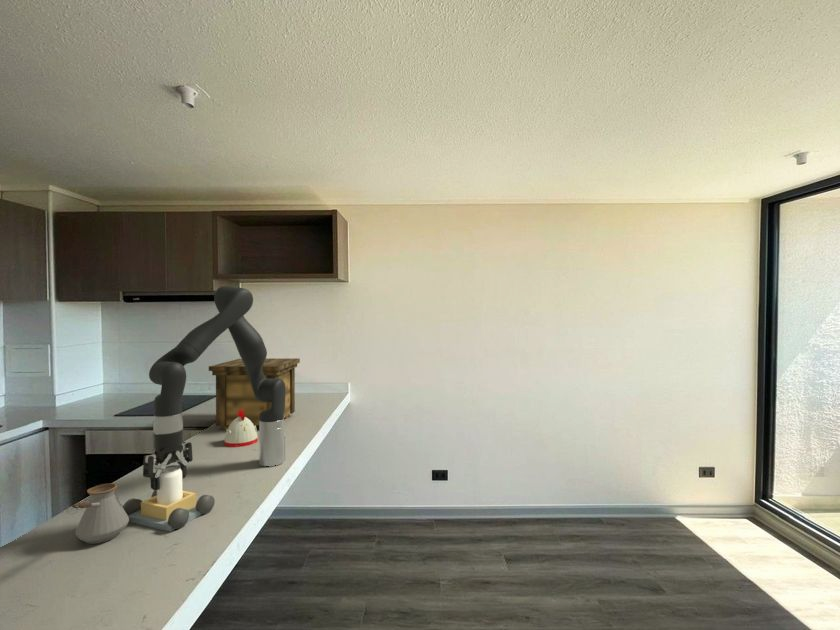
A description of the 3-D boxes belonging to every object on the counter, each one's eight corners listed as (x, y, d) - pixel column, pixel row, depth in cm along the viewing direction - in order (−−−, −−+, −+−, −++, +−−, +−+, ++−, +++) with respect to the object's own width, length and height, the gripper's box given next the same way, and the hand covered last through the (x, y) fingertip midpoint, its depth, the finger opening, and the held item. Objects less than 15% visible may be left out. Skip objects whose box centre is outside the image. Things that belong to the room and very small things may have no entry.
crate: (209, 431, 210) (208, 366, 210) (240, 414, 245) (240, 358, 245) (278, 431, 209) (278, 366, 209) (300, 414, 244) (299, 358, 244)
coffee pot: (88, 528, 116) (87, 474, 116) (135, 522, 119) (135, 469, 119) (42, 574, 96) (41, 509, 96) (101, 566, 99) (100, 503, 99)
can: (159, 506, 126) (159, 466, 126) (184, 502, 128) (183, 463, 128) (154, 515, 120) (154, 474, 120) (180, 511, 122) (180, 470, 122)
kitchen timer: (229, 449, 183) (229, 414, 183) (221, 441, 194) (220, 409, 193) (261, 442, 192) (261, 410, 192) (251, 436, 202) (251, 404, 202)
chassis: (166, 499, 134) (165, 483, 134) (214, 509, 127) (214, 492, 127) (121, 520, 121) (121, 502, 121) (173, 532, 114) (173, 514, 114)
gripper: (180, 421, 132) (180, 473, 132) (135, 434, 118) (136, 491, 119) (198, 423, 129) (199, 476, 129) (155, 437, 116) (155, 495, 116)
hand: (169, 483), depth 124 cm, fingers open, 8 cm apart
